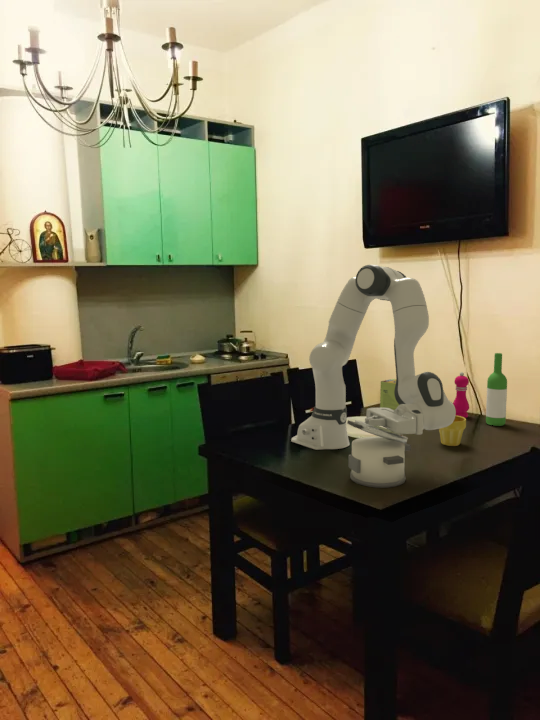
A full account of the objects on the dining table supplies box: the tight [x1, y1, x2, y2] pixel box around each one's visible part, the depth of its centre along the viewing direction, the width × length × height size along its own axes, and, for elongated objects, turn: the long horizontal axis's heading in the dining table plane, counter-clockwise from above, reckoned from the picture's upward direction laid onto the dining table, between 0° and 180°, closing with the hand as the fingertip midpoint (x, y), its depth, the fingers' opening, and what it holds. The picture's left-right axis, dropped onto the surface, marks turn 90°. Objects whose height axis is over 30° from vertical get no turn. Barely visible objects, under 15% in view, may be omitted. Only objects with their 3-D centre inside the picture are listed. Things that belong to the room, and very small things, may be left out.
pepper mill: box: [452, 371, 470, 419], centre depth 255 cm, size 7×7×20 cm
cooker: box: [348, 436, 412, 489], centre depth 178 cm, size 18×21×11 cm
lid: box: [346, 419, 409, 443], centre depth 176 cm, size 19×17×2 cm
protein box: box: [379, 378, 399, 410], centre depth 260 cm, size 10×15×16 cm
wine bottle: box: [485, 352, 508, 427], centre depth 240 cm, size 8×8×30 cm
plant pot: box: [438, 415, 467, 447], centre depth 214 cm, size 10×10×10 cm
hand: (367, 421), depth 175 cm, fingers closed
